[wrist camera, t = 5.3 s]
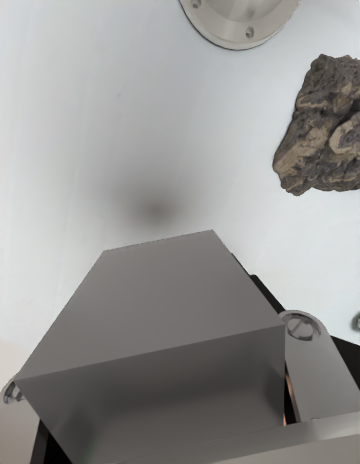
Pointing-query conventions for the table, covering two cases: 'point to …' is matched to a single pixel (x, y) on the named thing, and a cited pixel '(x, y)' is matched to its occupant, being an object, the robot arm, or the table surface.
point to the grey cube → (158, 354)
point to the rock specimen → (324, 130)
